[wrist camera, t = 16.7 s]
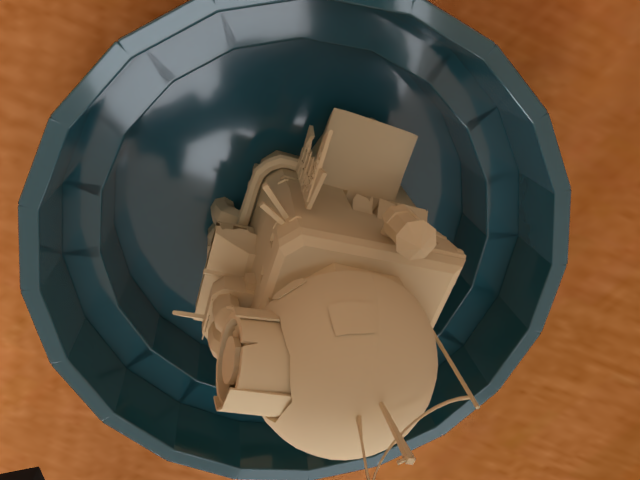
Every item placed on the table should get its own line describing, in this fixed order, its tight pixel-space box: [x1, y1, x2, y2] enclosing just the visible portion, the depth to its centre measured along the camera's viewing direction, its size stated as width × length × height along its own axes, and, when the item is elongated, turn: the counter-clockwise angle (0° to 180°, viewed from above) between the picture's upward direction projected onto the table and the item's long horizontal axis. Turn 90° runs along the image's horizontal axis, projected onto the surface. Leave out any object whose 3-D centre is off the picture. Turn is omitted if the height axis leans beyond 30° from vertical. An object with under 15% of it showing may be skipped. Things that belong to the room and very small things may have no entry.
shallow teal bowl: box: [18, 0, 571, 480], centre depth 22 cm, size 18×18×6 cm
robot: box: [172, 108, 480, 480], centre depth 17 cm, size 10×8×15 cm
